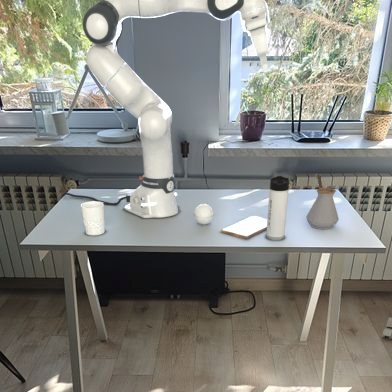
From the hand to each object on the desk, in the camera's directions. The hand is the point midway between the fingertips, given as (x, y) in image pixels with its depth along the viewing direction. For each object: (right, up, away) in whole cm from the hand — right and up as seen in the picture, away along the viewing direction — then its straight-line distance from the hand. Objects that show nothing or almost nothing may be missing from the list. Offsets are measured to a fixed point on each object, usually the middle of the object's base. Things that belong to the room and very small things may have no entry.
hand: (265, 68), depth 168 cm
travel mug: (+4, -56, +6) cm, 56 cm away
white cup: (-59, -53, +11) cm, 80 cm away
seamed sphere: (-20, -49, +17) cm, 55 cm away
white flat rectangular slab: (-4, -50, +14) cm, 52 cm away
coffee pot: (+23, -47, +19) cm, 55 cm away
